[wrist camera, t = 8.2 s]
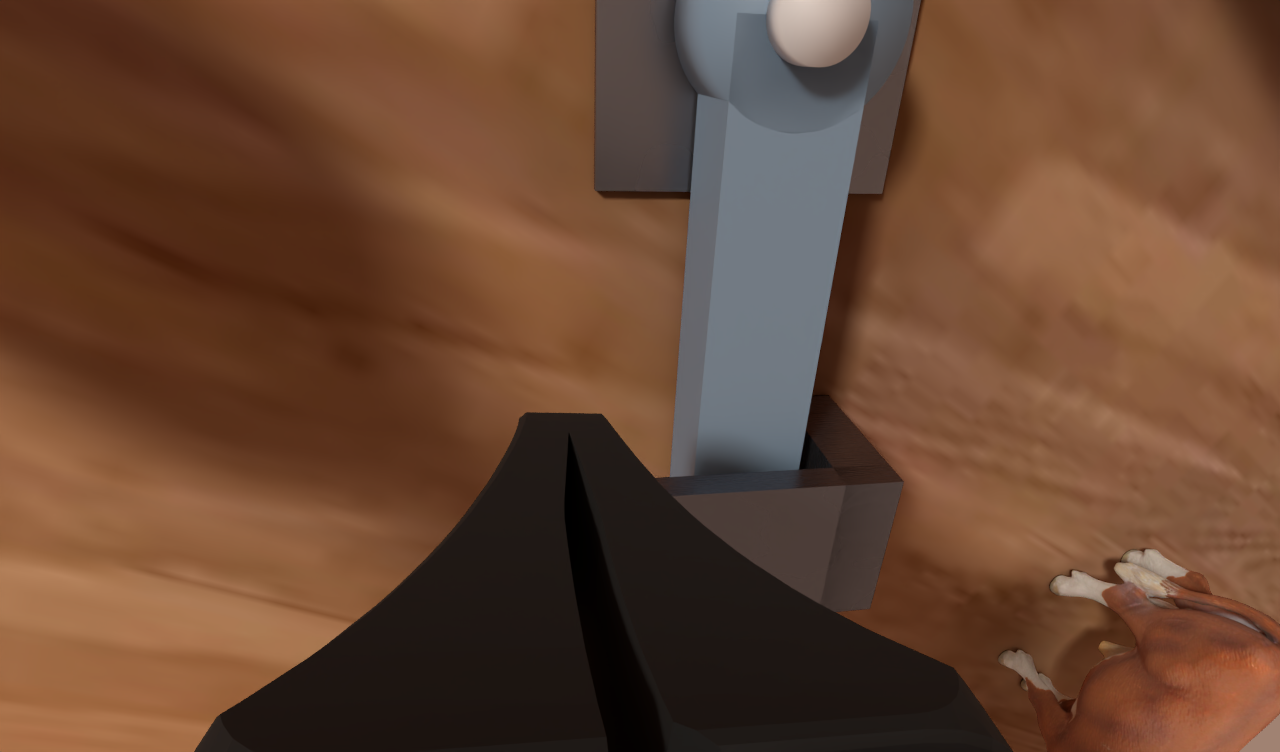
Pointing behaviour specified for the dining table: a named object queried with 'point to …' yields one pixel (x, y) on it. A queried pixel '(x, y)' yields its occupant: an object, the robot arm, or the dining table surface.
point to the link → (767, 212)
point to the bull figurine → (1163, 667)
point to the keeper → (807, 512)
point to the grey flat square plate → (689, 105)
